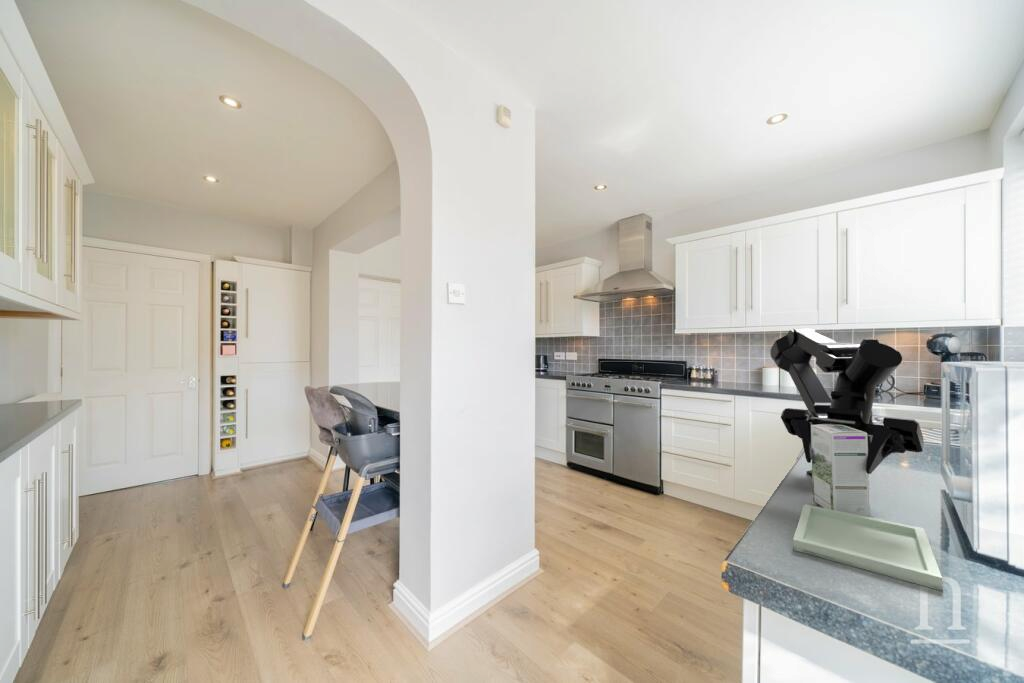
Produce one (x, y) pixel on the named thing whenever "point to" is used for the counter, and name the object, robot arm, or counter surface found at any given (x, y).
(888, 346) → the robot arm
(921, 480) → the counter surface
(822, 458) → the syrup box
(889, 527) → the tray
